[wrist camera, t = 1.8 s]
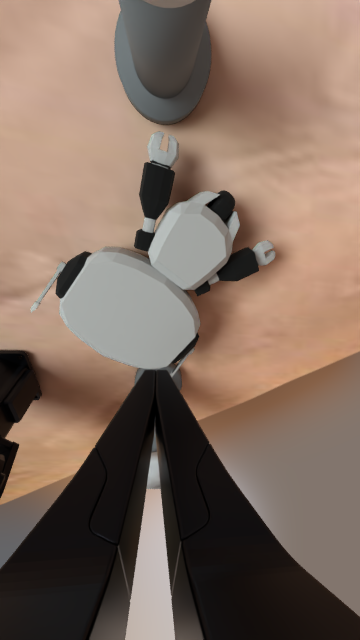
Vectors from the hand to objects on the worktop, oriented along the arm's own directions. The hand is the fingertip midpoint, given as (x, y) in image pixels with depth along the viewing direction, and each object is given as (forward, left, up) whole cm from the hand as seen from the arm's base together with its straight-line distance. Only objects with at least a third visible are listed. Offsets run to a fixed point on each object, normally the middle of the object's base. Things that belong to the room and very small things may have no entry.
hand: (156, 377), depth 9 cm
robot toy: (0, 0, -13) cm, 13 cm away
